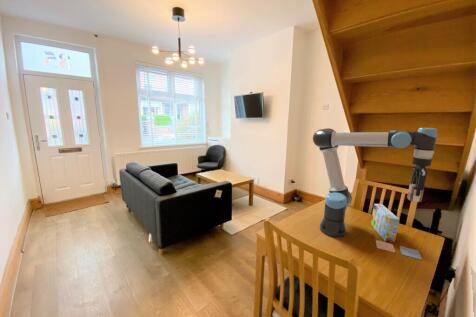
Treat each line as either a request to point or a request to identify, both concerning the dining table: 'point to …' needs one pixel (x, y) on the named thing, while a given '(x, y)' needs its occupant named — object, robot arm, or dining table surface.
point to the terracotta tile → (385, 246)
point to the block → (411, 192)
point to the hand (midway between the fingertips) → (414, 199)
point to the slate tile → (410, 252)
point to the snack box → (385, 223)
